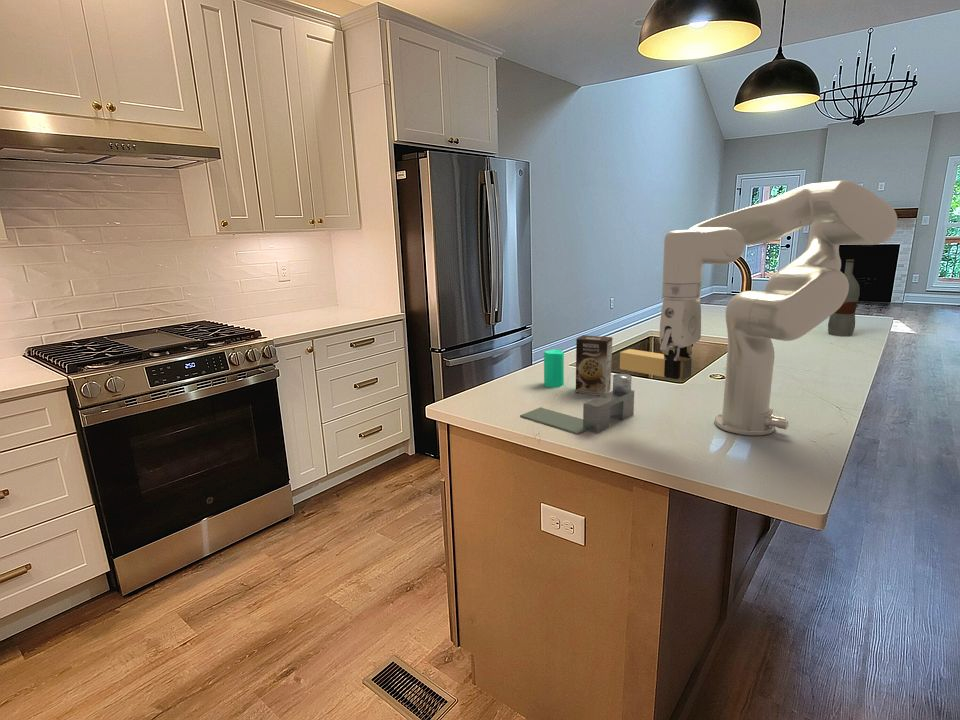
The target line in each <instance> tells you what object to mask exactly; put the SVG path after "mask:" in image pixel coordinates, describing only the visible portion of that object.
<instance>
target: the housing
mask: <svg viewBox="0 0 960 720" xmlns="http://www.w3.org/2000/svg"><path fill="white" fill-rule="evenodd" d="M582 406H583V411H582V413H583V414H582V419H583V428H586V429H587V430H586V431H589V432H591V433H595V434H599V433H601V432H602V431H605V430H607V429H608V428H610V418H613V419H616V420H619V421H624V420H626V419H629V418H631V417H633V416H634V414H635V413H634V411H635V409H634V408H635V390H633V389H632V375H631V374H628V373H616V374H614V375H613V376H612V391H611V390H610V391H609V392H608V393H607V394H604V395H599V396H598V397H595V398H592V399H591V400H588V401H586V402H583V404H582Z"/></svg>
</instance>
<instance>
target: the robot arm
mask: <svg viewBox="0 0 960 720" xmlns="http://www.w3.org/2000/svg"><path fill="white" fill-rule="evenodd" d="M808 226H809V233H808V242H807V246H806V249H805V251H804V252H803V253H802V254H801V255H799V256H798V257H797V258H795V259H793V260H792V261H791V262H789V263H788V264H786V265H785V266H784V267H783V268H780V270H778V271H777V272H776V273H774V274H773V275H772V276H771V277H770V278H769V279H768V281H767V283H766V285H765V287H764V290H765V291H763V290H761V291H760V290H743V291H741V292H739V293H736V294H735V295H733V297H731V298H730V299H729V301H728V302H727V305H726V308H725V324H726V330H727V331H726V332H727V353H726V366H725V379H724V390H723V404H722V413H719V414H717V415H716V416H715V417H714V423H715V424H714V425H716V427H718V428H719V429H721V430H723V431H726V432H729V433H731V434H732V433H733V434H737V435H744V436H764V435H769V434H771V433H773V432H775V428H777V429H782V430H787V429H788V427H789V421H788V420H787V419H786V418H785V417H781V416H776V415H775V414H773V413H774V409H773V408H770V401H771V394H772V393H771V392H772V384H773V374H774V373H773V372H774V363H775V350H774V349H775V347H774V344H773V342H772V339H773V340H775V341H783V342H791V341H795V340H798V339H799V338H802V337H803V336H805V335H806V334H808V333H809V332H810V331H812V330H813V329H814V328H816V327H817V326H819V325H820V324H822V323H823V322H824V321H826V320H827V319H829V318H830V316H831V315H832V314H833V313H835V312H836V311H837V310H838V309H839V308H840V307H841V306H842V304H843V303H844V301H845V299H846V297H847V294H848V290H849V283H848V280H847V278H846V276H845V275H844V273H843V272H842V271H841V269H842V259H841V257H840V250H839V249H840V245H841V246H842V245H843V246H844V245H845V246H846V245H849V246H851V245H852V246H855V245H856V246H859V245H860V246H874V245H875V246H876V245H880V244H883V243H884V242H886V241H888V240H889V239H890V238H891V237H892V236H894V234H895V232H896V230H897V228H898V227H897V226H898V215H897V212H896V210H895V209H894V208H893V206H892V205H891V204H889V203H888V202H887V201H885V200H884V199H882V198H881V197H880V196H878V195H877V194H875V192H872V191H871V190H869V189H867V188H866V187H864V186H863V185H861V184H860V183H856V182H854V181H851V180H848V179H847V180H846V179H845V180H843V179H842V180H841V179H840V180H832V181H831V180H830V181H824V182H823V181H821V182H820V181H819V182H814V183H808V184H804V185H801V186H799V187H796V188H793V189H791V190H789V191H786V192H785V193H782V194H780V195H778V196H775V197H772V198H770V199H768V200H765V201H763V202H760V203H758V204H754V205H752V206H751V205H750V206H748V207H745V208H741V209H738V210H736V211H732V212H729V213H726V214H722V215H719V216H716V217H713V218H709V219H707V220H705V221H702V222H700V223H697V224H695V225H693V226H691V227H689V228H687V229H678V230H670V231H668V232H667V233H666V234H665V236H664V241H663V242H664V243H663V262H662V263H663V266H662V270H663V271H662V287H661V289H662V290H661V299H663V301H662V304H661V305H662V306H661V313H660V321H659V343H660V346H659V350H660V352H662V353H661V354H664V360H665V367H664V376H665V377H664V378H667V379H671V378H672V379H673V380H677V379H679V377H680V361H678V359H679V357H686V358H691V356H692V355H693V346H694V344H696V343H698V342H699V341H700V340H701V339H702V338H701V335H702V307H701V306H702V305H701V295H702V294H701V293H702V280H703V279H702V275H703V265H705V264H706V265H707V264H708V265H719V266H721V265H728V264H731V263H734V262H736V261H737V260H739V258H741V256H742V255H743V253H744V251H745V249H746V246H747V245H759V244H766V243H769V242H774V241H776V240H779V239H781V238H784V237H785V236H787V235H790V234H792V233H795V232H797V231H798V230H801V229H804V228H806V227H808ZM672 344H673V345H672ZM673 349H674V350H673ZM672 379H671V380H672Z"/></svg>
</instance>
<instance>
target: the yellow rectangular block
mask: <svg viewBox="0 0 960 720" xmlns="http://www.w3.org/2000/svg"><path fill="white" fill-rule="evenodd" d="M678 361H680V377H679V379H676V380H677V381H684V380H686V379H688V378H691V376H692V364H693V363H692V362H693V359H692V358H686V357H679V359H678ZM664 367H665V360H664V354H663V353H658V352H651V351H646V350H639V349H638V350H637V349H632V348H628V349H625V350H622V351H620V352H619V370H623V371H624V370H625V371H629V372H634V373H640V374H645V375H651V376H655V377H656V376H657V377H662V378H666V377H665V376H664ZM670 379H671V380H672V378H670Z"/></svg>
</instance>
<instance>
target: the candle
mask: <svg viewBox="0 0 960 720" xmlns="http://www.w3.org/2000/svg"><path fill="white" fill-rule="evenodd" d="M564 354H565V352H564V351H562V350H561V349H548V350H546V351H543V385H544V387H546V388H552V387H555V388H561V387H560V386H562V385H563V386H564V384H565V380H564V379H565V378H564V377H565V376H564V375H565V373H564V370H565V364H564V362H565V361H564V360H565V357H564ZM563 386H562V387H563Z"/></svg>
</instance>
